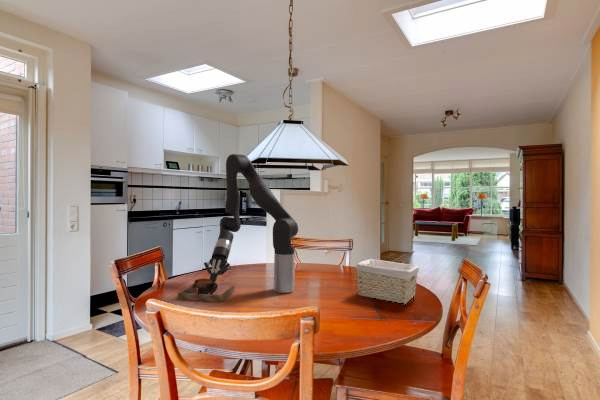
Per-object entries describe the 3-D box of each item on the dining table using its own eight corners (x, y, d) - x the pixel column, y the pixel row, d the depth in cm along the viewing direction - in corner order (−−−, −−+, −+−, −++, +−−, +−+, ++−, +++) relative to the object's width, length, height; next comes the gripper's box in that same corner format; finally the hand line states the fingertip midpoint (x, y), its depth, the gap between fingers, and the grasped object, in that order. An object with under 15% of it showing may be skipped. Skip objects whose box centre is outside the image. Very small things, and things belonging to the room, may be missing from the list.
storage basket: (419, 298, 152) (420, 264, 152) (408, 307, 138) (409, 271, 138) (368, 288, 165) (369, 258, 165) (354, 296, 152) (355, 263, 151)
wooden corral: (234, 291, 154) (234, 285, 154) (222, 302, 138) (222, 296, 138) (193, 288, 156) (194, 283, 156) (177, 299, 140) (177, 293, 140)
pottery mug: (187, 299, 143) (188, 279, 147) (199, 303, 151) (200, 284, 155) (212, 294, 140) (213, 274, 144) (223, 298, 148) (224, 280, 152)
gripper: (206, 245, 163) (195, 276, 151) (233, 246, 161) (224, 278, 149) (210, 254, 168) (200, 285, 156) (236, 255, 167) (228, 287, 155)
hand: (212, 281), depth 153 cm, fingers closed
